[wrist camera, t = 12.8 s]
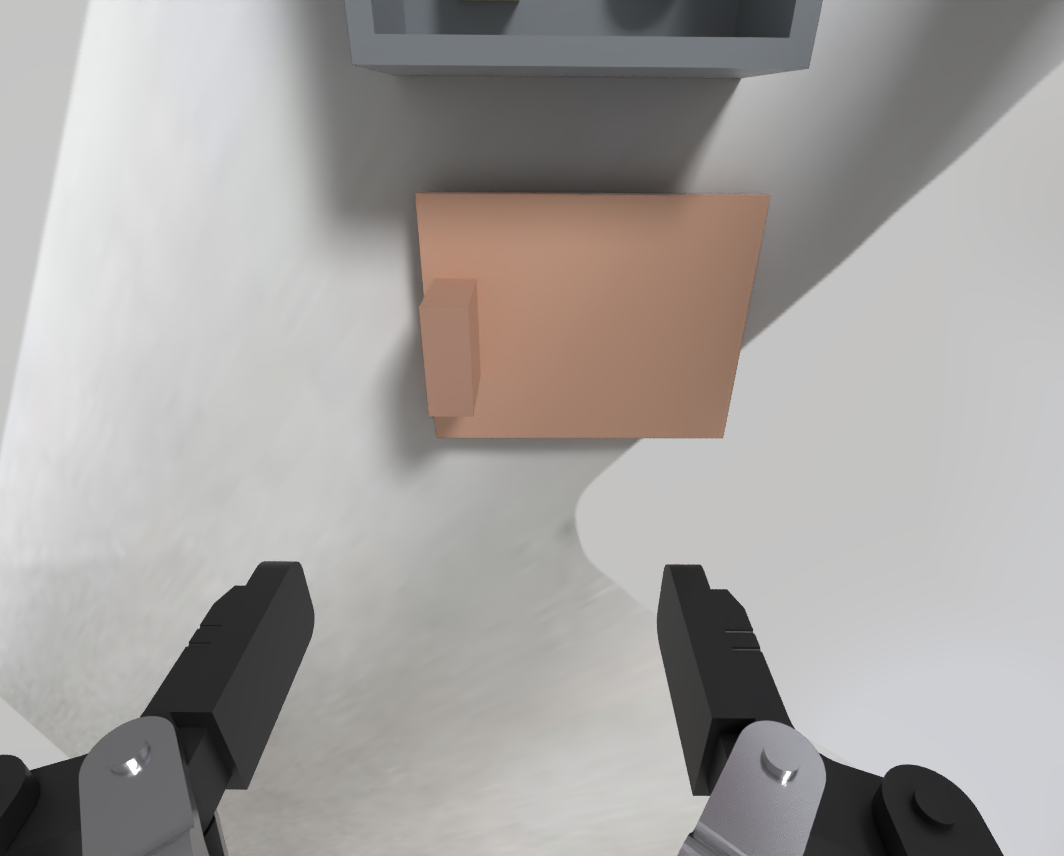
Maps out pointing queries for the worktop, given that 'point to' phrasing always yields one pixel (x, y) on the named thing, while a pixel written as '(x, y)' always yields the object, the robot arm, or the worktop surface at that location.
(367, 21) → the tub
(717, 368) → the lid
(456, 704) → the worktop surface
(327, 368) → the worktop surface
